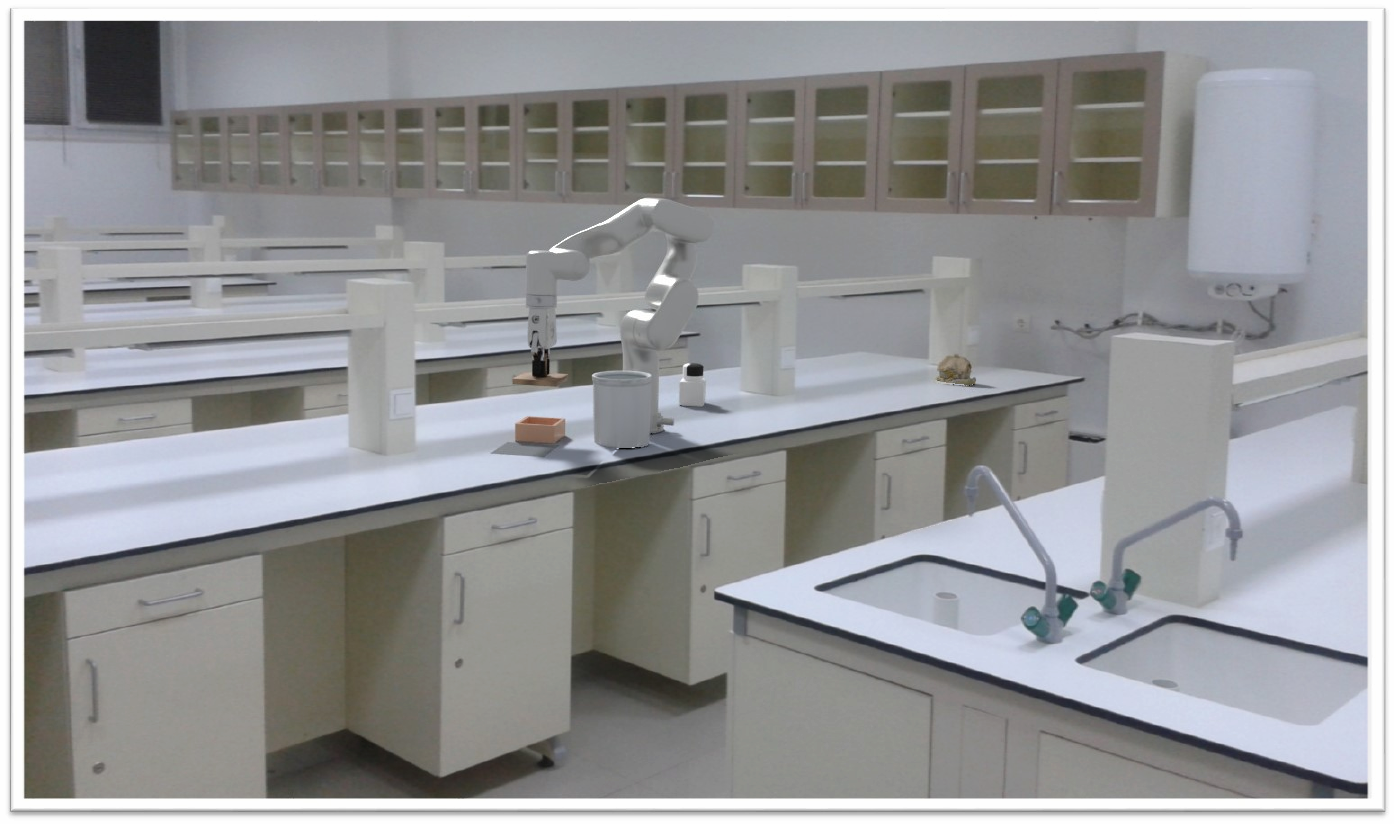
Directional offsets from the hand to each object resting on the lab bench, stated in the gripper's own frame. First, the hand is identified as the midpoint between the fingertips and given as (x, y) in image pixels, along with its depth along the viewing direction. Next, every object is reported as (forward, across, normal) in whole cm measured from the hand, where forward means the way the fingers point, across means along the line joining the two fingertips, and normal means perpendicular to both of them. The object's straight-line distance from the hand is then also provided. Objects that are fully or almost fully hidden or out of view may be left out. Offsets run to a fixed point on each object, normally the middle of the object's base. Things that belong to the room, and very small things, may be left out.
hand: (540, 374), depth 312 cm
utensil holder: (+17, +2, -20) cm, 26 cm away
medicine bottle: (+17, +62, -28) cm, 70 cm away
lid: (+2, 0, 0) cm, 2 cm away
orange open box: (+17, 0, 0) cm, 17 cm away
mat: (+17, -13, 0) cm, 21 cm away
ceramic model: (+17, +128, -106) cm, 167 cm away
